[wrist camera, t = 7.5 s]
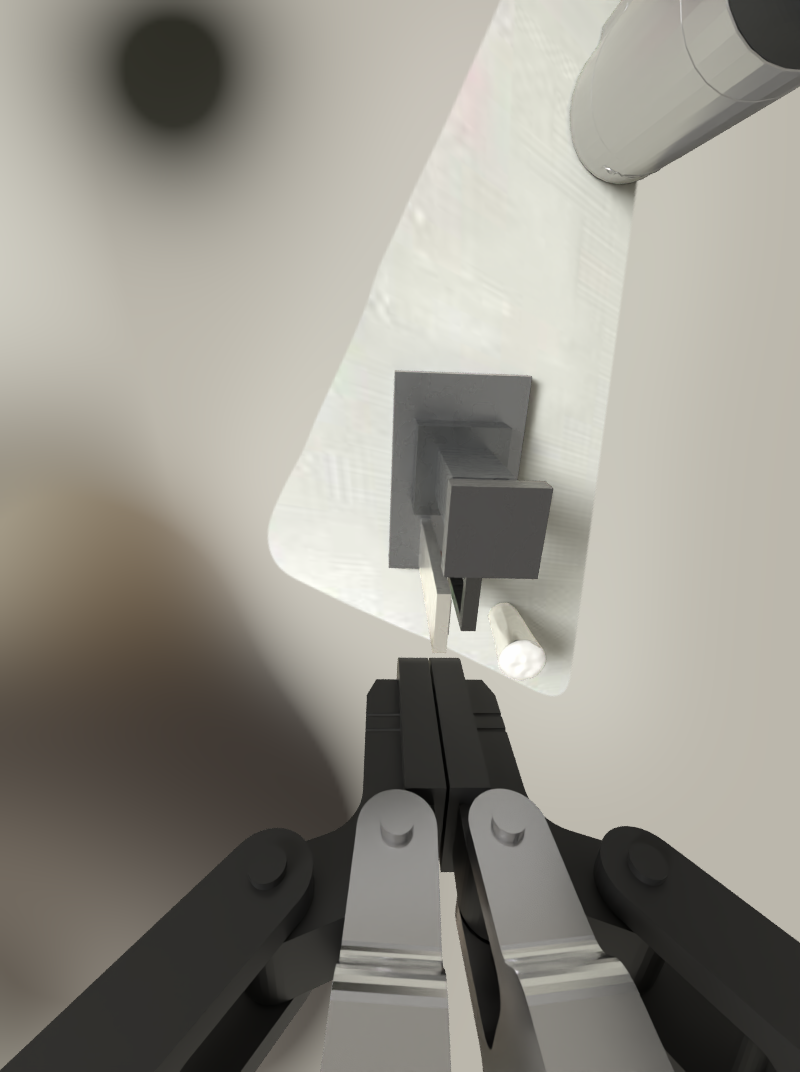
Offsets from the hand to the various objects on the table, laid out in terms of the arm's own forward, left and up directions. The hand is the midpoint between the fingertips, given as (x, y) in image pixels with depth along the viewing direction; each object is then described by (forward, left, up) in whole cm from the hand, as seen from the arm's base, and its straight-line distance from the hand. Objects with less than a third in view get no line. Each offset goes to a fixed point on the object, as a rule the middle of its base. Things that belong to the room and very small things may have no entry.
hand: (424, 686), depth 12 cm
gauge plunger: (+5, +6, -28) cm, 29 cm away
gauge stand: (+5, +6, -35) cm, 36 cm away
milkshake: (+20, +13, -35) cm, 43 cm away
